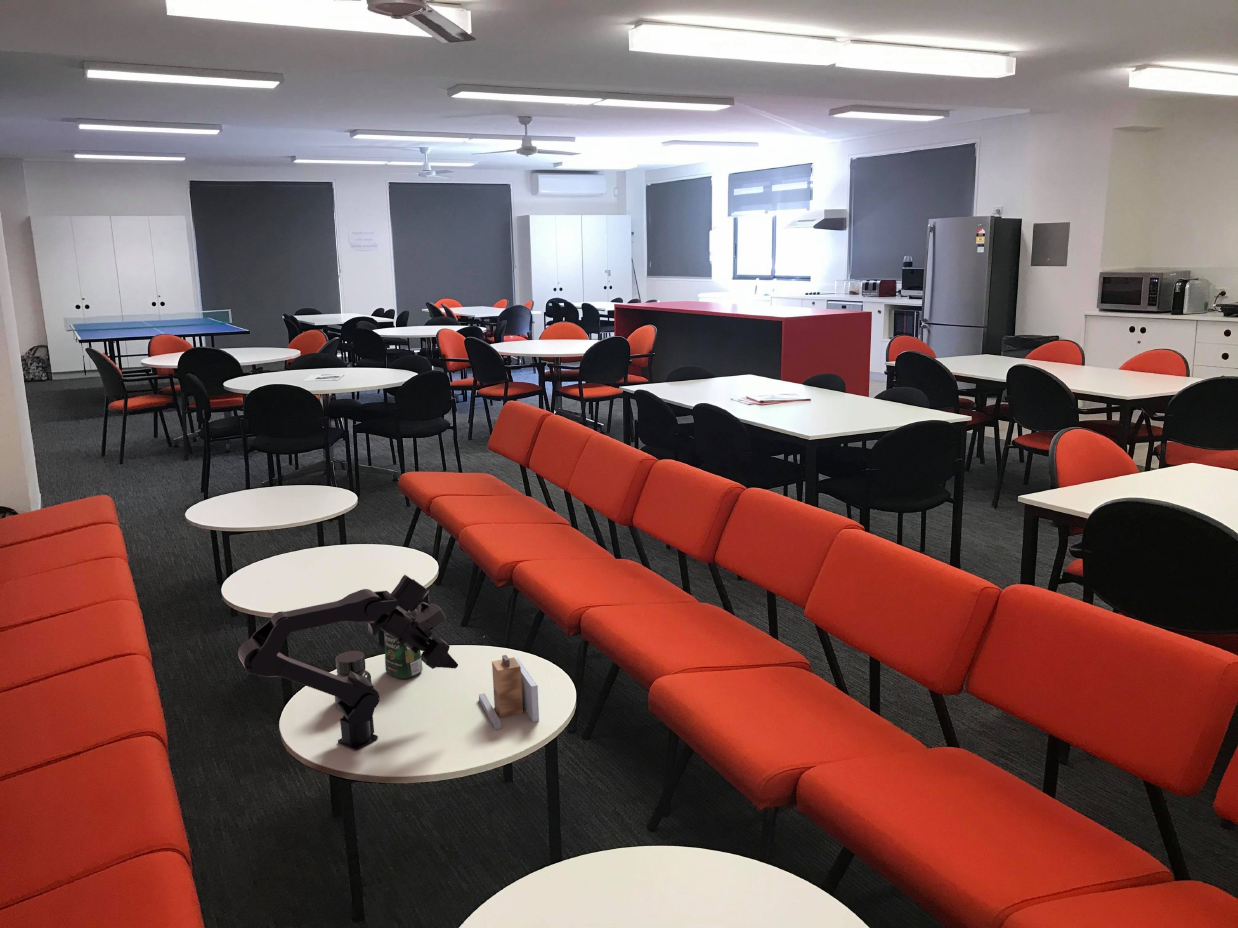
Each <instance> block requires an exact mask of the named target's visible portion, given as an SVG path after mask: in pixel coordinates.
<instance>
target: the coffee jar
mask: <svg viewBox="0 0 1238 928" xmlns="http://www.w3.org/2000/svg"><path fill="white" fill-rule="evenodd" d="M396 608H397V609H398V610H400V611H401V612H403V613H404V614H406V615H407V616H412V617H413V618H415V617H416V616H417V615H418V614H417V613H418V608H416V609H415V610H413V611H412V612H411V611H408V612H406V611H405V610H403V609H402V608H401V607H399V606H397V607H396ZM383 635H384V637H383V638H384V664H385V665H384V667H385V671H386V673H387V674H389V675H390V676H393V677H395V678H397V679H401V680H405V679H410V678H414V677H416V676H418V675H419V674H421V673H422V672H423V669H424V668H423V661H422V660H421V654H422V653H421V652H422V651H420V650H419V651H418V652H417V653H414V652H413V651H412V650H411V649H410V648H408V647H407V646H405V645H404V644H403V645H402V644H401V643H399V642H398V641H397V640H396V639H395V638H393V637H392V636H390V635H389V634H387V633H386V632H384V631H383Z"/></svg>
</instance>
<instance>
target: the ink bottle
mask: <svg viewBox="0 0 1238 928" xmlns="http://www.w3.org/2000/svg"><path fill="white" fill-rule="evenodd" d="M335 668H336V675H337V676H340V677H348V676H349V673H350V671H352V672H354V673H355V674H357V675H360V676H365V677H366V678H367V679H368V680H369V681H370V682H371V683H372V676H371V673H370V671H368V670H366V658H365V653H364V652H362V651H359V650H349V651H344V652H342V653H339V654H337V656H336V657H335ZM372 684H373V683H372ZM339 700H340V699H339V698H338V697H336V696H334V703H335V706H337V703H338V702H339Z"/></svg>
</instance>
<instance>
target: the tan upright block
mask: <svg viewBox="0 0 1238 928" xmlns="http://www.w3.org/2000/svg"><path fill="white" fill-rule="evenodd" d="M501 657H502V658H501V659H498V660H493V661H491V667H492V668H491V670H492V685H493V687H492V688H493V702H494V703H493V704H494V710H495V712H496V714H498V717H499V719H500V718H506V717H510V716H517V715H520V714H523V713H524V710H523V708H524V707H523V705H522V685H521V666H520V665H519V663H518V662H517V661H516V659H517V658H516V657H509V656H508V655H507V654H504V655H502V656H501Z"/></svg>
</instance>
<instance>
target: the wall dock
mask: <svg viewBox="0 0 1238 928" xmlns="http://www.w3.org/2000/svg"><path fill="white" fill-rule="evenodd" d="M515 659H516V661H517V662H518V663H519V665H520V666H521V685H522V705H523V708H524V710H525V711H526V714H527V715H528V717H529V718H530V720H531V721H532V722H533V723H534V722H539V721H540V712H539V711H540V707H539V690H538V689H539V688H538V687H539V686H538V684H537V682H536V681H535V680H534V678H533V677H532V676H531V674H530V672H529V671H528V669H527V668H526V667H525V665H524V664H523V662H522V661H521V660H520V658H515ZM478 701H479V702H480V704H481V706H482V708H483V710H484V712H485V714H486V716H487V717H488V719H489V721H490V723H491V725H492V727H493V728H494V730H495V731H496V730H497V731H498V730H501V729H502V728H503V727H502V721H501V720H500V717H499V715H497V714H498V713H497V711H496V710H495V708H494V707H493V705H492V704H491V702H490V701H489V698H488V696H487V695H486V694H485V692H484V693H480V694H478Z"/></svg>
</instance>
